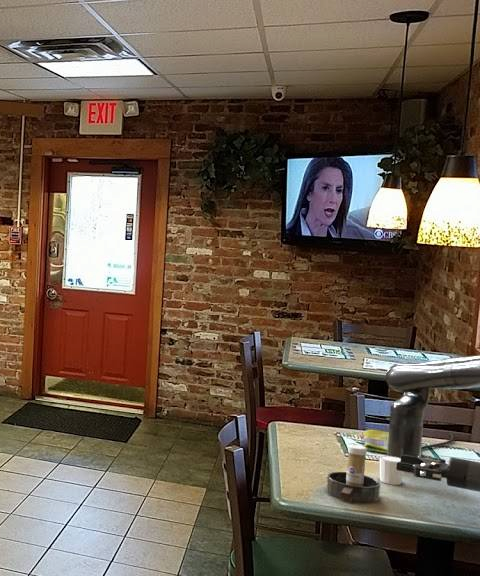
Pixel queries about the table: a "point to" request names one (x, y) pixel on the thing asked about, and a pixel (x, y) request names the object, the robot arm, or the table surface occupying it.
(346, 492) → the pan handle
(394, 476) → the white cup
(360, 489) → the pan
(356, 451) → the sprinkles bottle
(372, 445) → the dish towel
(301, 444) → the table surface
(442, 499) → the table surface
